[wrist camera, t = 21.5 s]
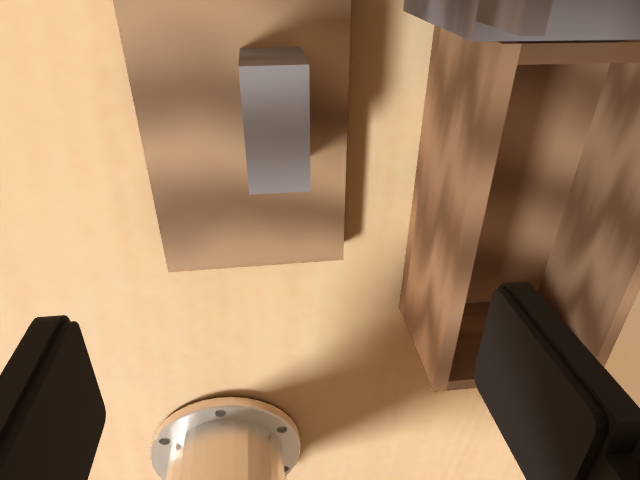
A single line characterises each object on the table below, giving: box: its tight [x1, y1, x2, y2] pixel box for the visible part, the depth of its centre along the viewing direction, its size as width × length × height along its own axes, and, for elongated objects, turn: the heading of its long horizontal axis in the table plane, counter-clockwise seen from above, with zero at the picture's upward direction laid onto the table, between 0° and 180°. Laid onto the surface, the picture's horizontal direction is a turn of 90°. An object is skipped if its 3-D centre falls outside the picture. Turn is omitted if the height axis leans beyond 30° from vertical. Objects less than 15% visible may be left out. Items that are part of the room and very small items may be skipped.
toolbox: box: [399, 0, 640, 392], centre depth 25 cm, size 25×13×12 cm, turn 179°
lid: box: [113, 0, 352, 272], centre depth 24 cm, size 20×11×6 cm, turn 0°
